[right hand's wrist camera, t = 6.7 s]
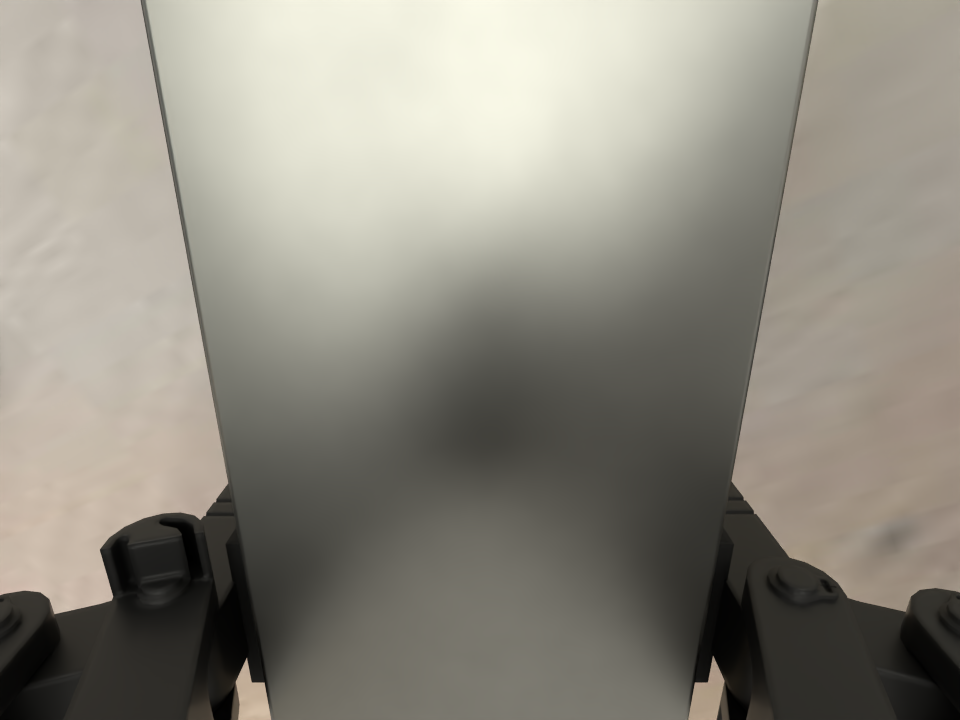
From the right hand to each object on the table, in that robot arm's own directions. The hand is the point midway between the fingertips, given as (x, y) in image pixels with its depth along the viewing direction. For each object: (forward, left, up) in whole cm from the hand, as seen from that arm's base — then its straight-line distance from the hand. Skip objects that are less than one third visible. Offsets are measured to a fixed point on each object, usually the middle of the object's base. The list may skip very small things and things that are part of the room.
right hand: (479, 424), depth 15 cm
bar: (+9, 0, 0) cm, 9 cm away
